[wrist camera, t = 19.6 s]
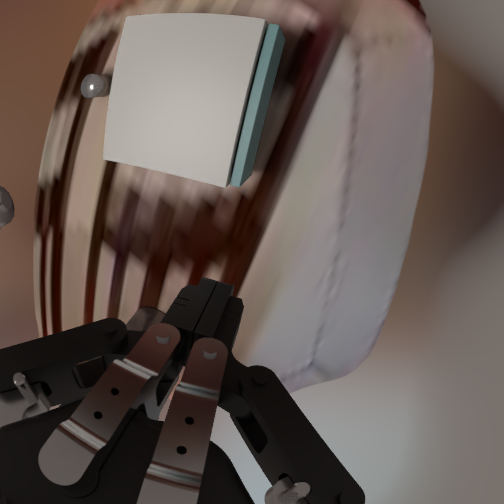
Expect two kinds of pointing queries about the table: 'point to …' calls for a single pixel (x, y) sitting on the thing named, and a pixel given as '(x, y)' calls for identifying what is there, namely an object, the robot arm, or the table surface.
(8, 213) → the headphones
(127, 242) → the table surface
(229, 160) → the housing
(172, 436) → the robot arm
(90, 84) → the stand
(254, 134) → the grey drawer
